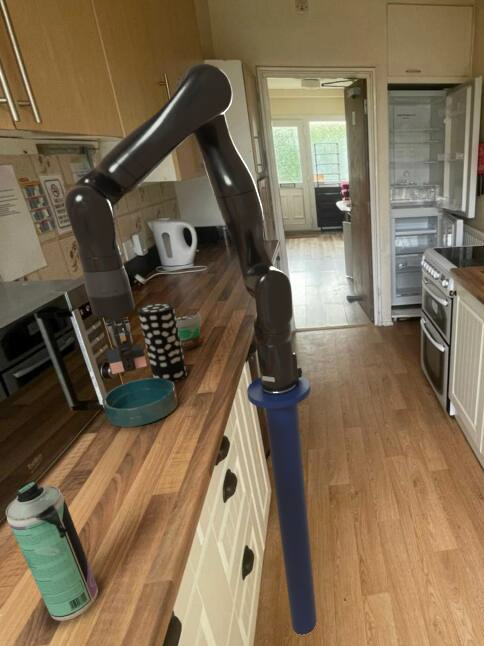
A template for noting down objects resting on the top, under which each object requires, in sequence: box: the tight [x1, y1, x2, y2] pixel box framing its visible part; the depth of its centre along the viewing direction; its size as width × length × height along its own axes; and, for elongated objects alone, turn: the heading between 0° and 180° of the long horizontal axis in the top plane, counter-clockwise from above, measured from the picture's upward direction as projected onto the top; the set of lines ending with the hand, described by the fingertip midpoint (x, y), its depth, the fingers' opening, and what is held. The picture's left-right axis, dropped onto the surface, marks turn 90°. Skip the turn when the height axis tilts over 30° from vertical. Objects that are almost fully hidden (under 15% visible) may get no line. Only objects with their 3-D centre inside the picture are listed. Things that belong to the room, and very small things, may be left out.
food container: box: [176, 310, 202, 351], centre depth 134 cm, size 12×6×10 cm, turn 132°
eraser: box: [105, 343, 148, 375], centre depth 91 cm, size 6×4×4 cm, turn 126°
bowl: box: [101, 377, 179, 428], centre depth 101 cm, size 15×15×5 cm
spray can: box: [5, 480, 99, 622], centre depth 54 cm, size 6×6×20 cm
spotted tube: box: [137, 302, 188, 383], centre depth 114 cm, size 8×8×20 cm
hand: (128, 366), depth 92 cm, fingers closed on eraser, 3 cm apart
